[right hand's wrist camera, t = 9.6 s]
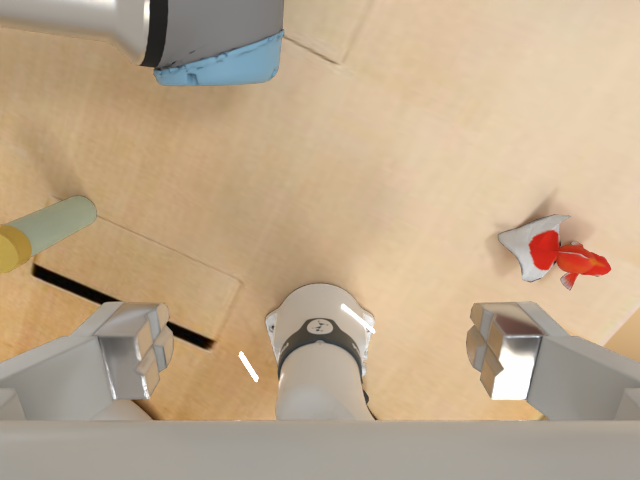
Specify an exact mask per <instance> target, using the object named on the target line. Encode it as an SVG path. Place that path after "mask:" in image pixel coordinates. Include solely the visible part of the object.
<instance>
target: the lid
mask: <svg viewBox="0 0 640 480" xmlns="http://www.w3.org/2000/svg"><path fill="white" fill-rule="evenodd" d="M31 254H32V247H31V244H30V241H29V240H28V238H27V237H26V235H25V234H24V233H23V232H21V231H20V230H18V229H17V228H15V227H13V226H9V225H0V273H7V272H10V271H11V270H13V269H15V268H17V267H19V266H20V265H22V264H24V263H25V262H27V261H28V260H29V258H30V257H31Z"/></svg>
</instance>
